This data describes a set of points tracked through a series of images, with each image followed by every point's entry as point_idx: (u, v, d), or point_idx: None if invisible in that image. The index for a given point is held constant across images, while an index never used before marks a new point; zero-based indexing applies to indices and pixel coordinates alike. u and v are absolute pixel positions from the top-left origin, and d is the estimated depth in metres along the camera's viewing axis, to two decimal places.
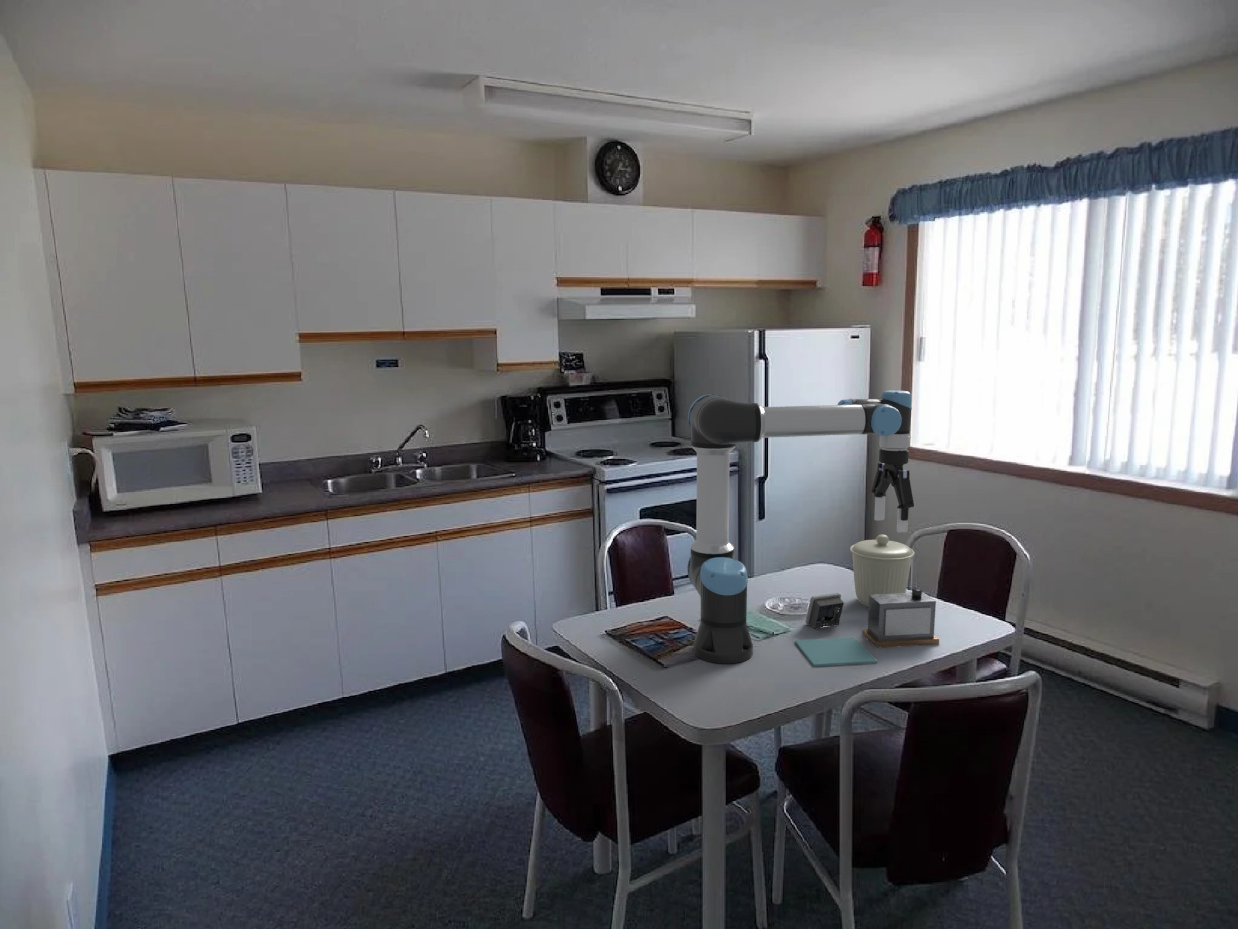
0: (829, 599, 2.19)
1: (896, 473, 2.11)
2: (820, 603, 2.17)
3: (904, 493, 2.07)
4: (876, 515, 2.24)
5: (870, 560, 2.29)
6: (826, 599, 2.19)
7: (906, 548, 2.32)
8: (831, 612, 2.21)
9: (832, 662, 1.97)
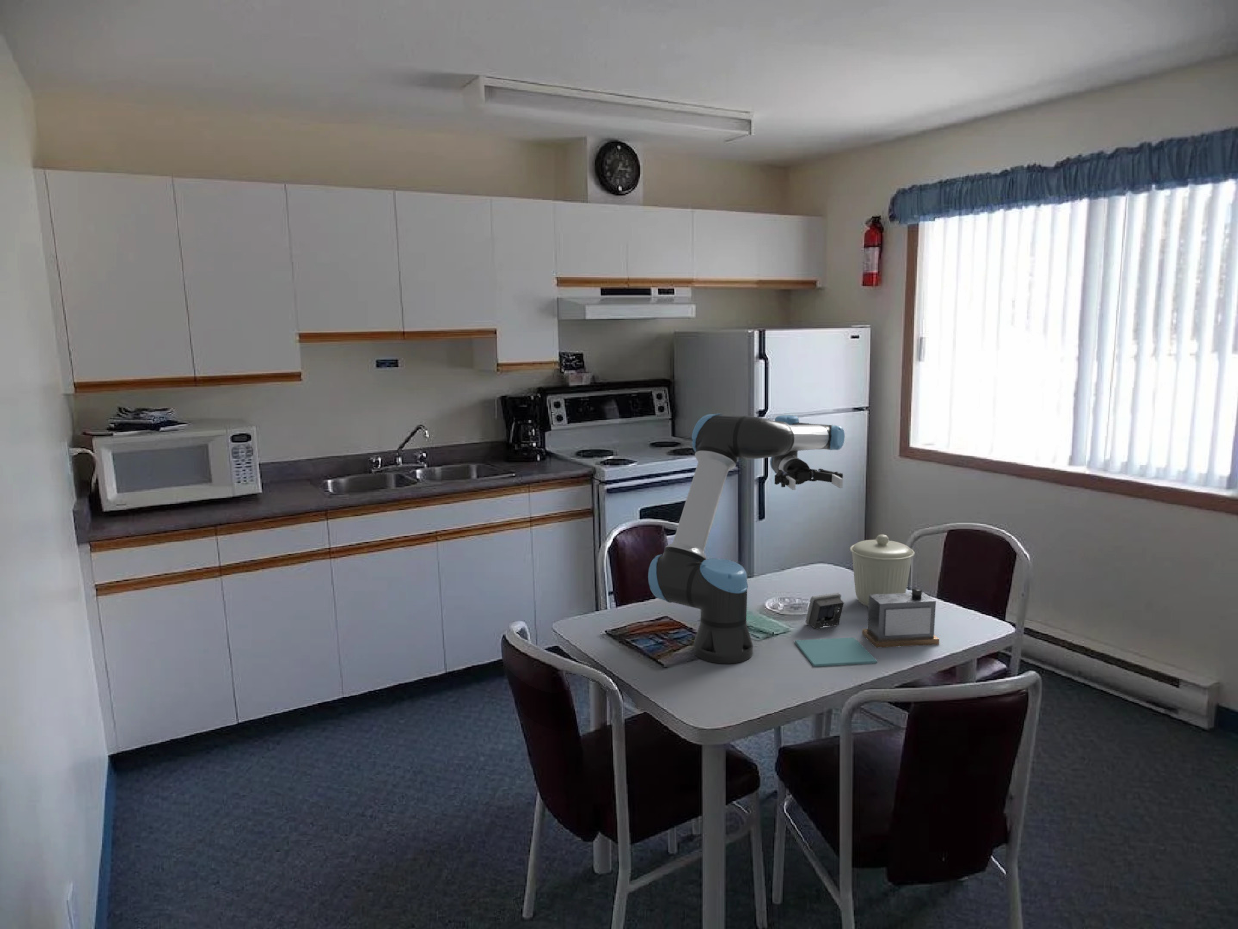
0: (829, 599, 2.19)
1: None
2: (820, 603, 2.17)
3: None
4: None
5: (870, 560, 2.29)
6: (826, 599, 2.19)
7: (906, 548, 2.32)
8: (831, 612, 2.21)
9: (832, 662, 1.97)
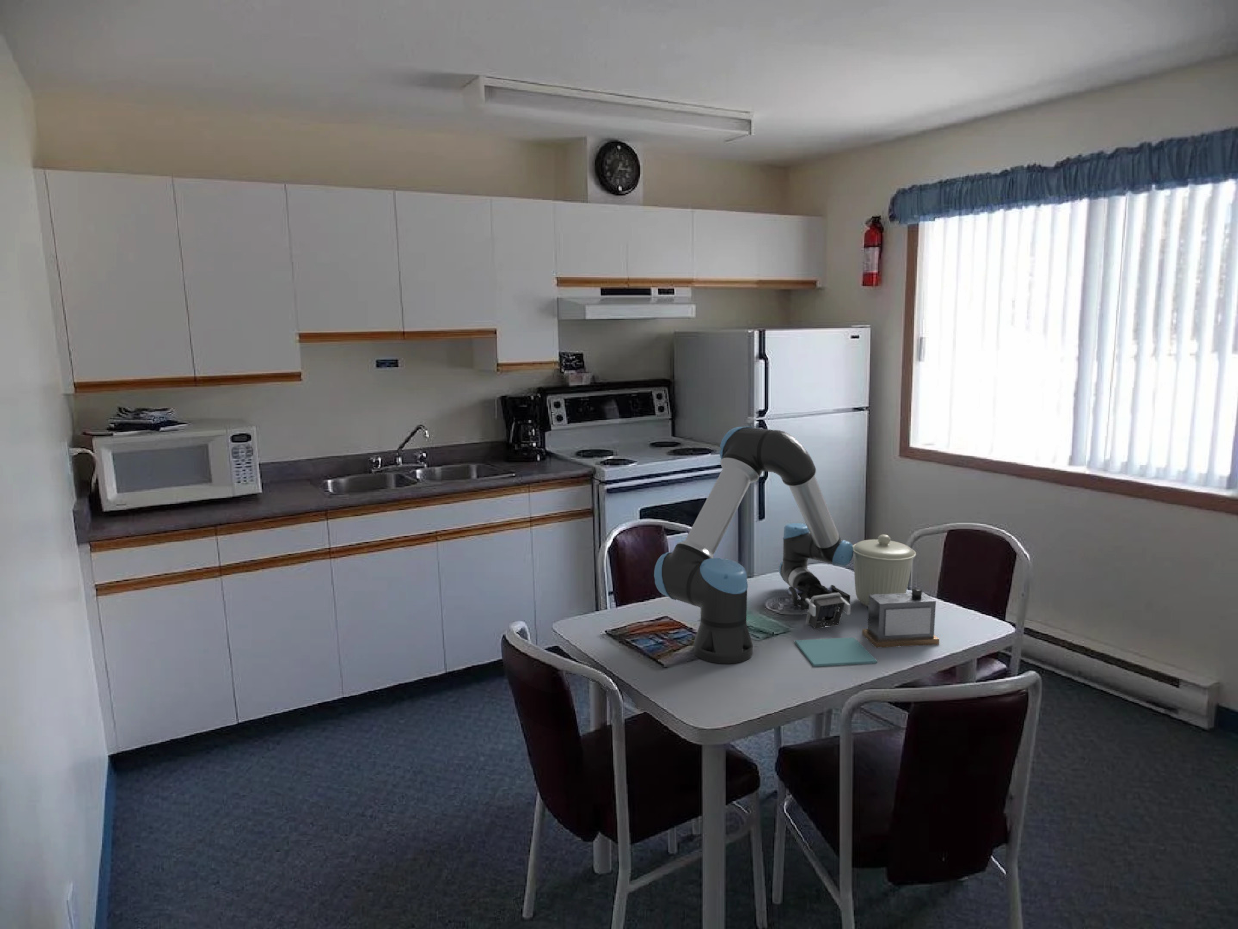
0: (829, 599, 2.19)
1: (824, 587, 2.32)
2: (820, 603, 2.17)
3: None
4: None
5: (874, 560, 2.28)
6: (826, 599, 2.19)
7: (908, 548, 2.32)
8: (831, 612, 2.21)
9: (832, 662, 1.97)
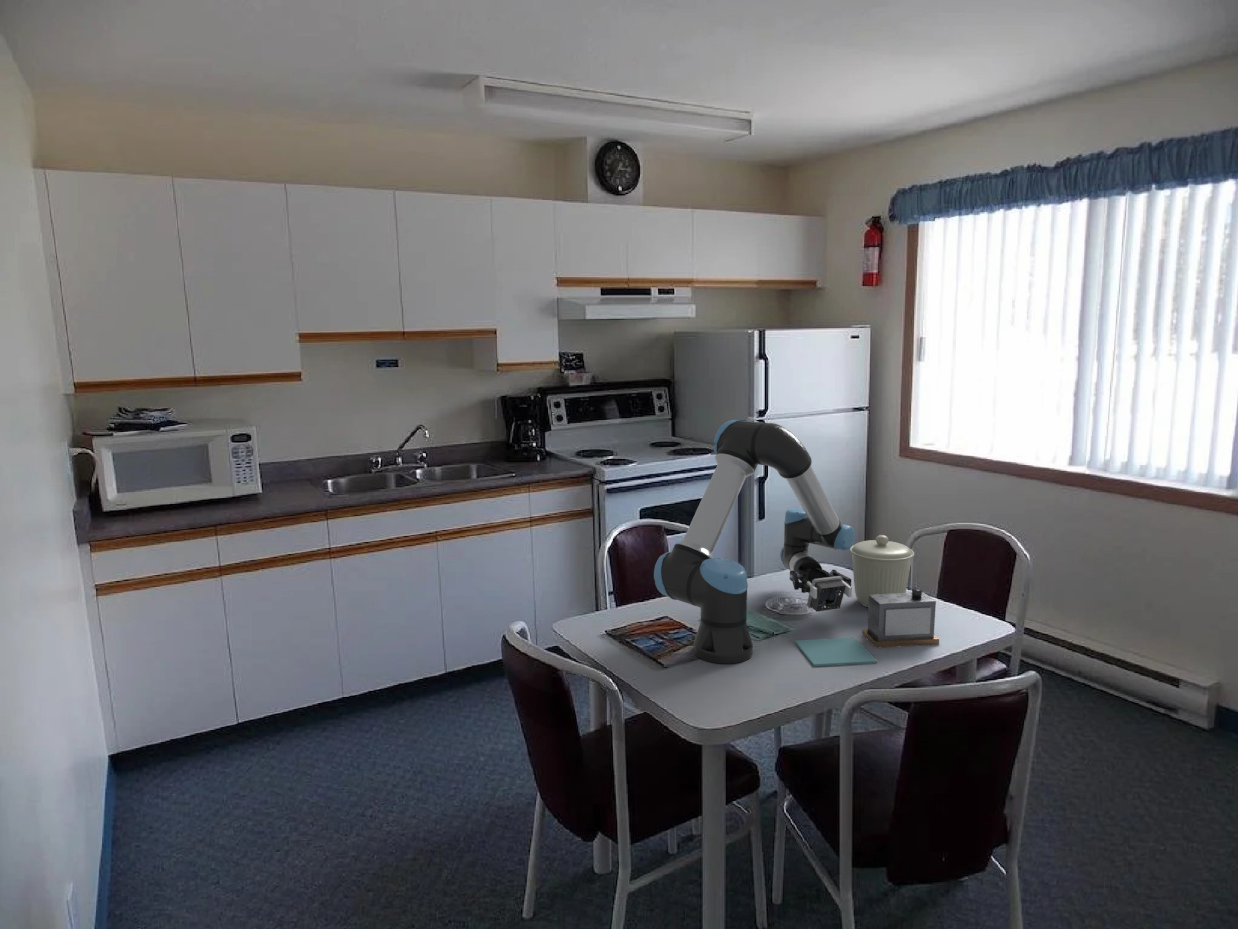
0: (831, 582, 2.19)
1: (825, 571, 2.32)
2: (822, 586, 2.17)
3: None
4: None
5: (873, 561, 2.28)
6: (828, 582, 2.19)
7: (906, 548, 2.32)
8: (832, 595, 2.20)
9: (832, 662, 1.97)
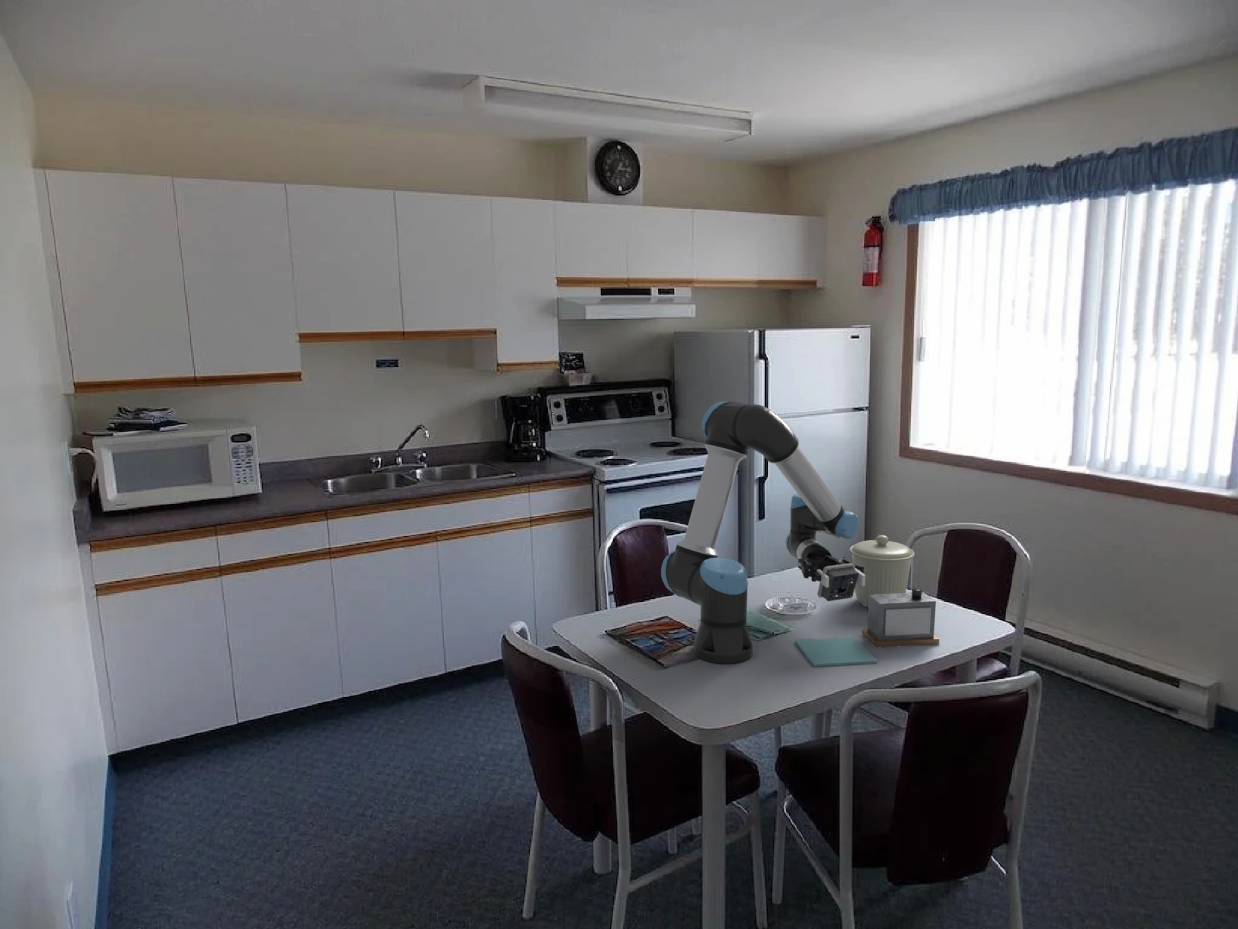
0: (843, 569, 2.06)
1: (836, 559, 2.19)
2: (834, 573, 2.04)
3: None
4: None
5: (873, 561, 2.28)
6: (840, 569, 2.06)
7: (906, 548, 2.32)
8: (845, 583, 2.08)
9: (832, 662, 1.97)
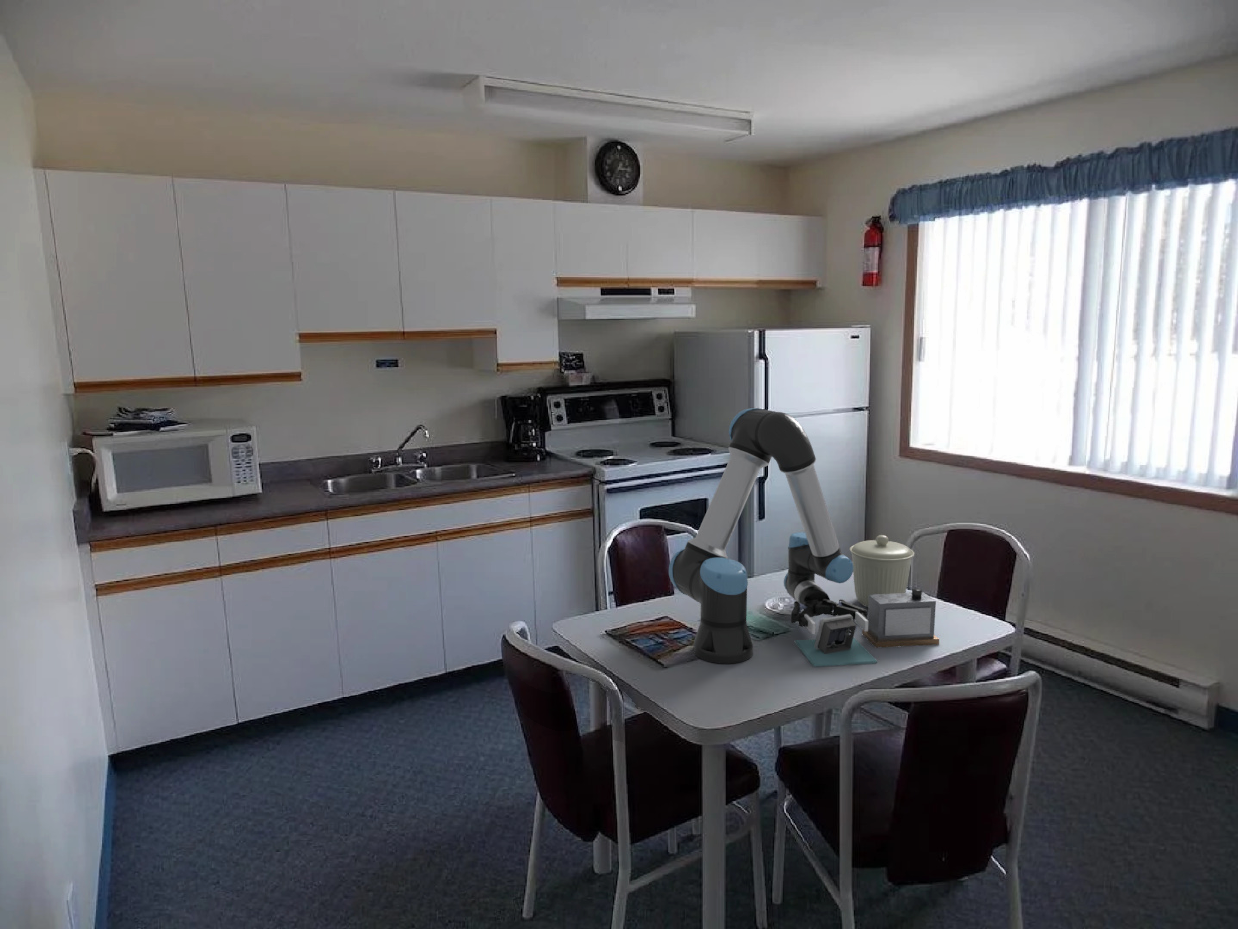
0: (840, 621, 2.01)
1: None
2: (831, 626, 1.99)
3: None
4: None
5: (873, 561, 2.28)
6: (837, 621, 2.01)
7: (906, 548, 2.32)
8: (842, 635, 2.03)
9: (832, 662, 1.97)
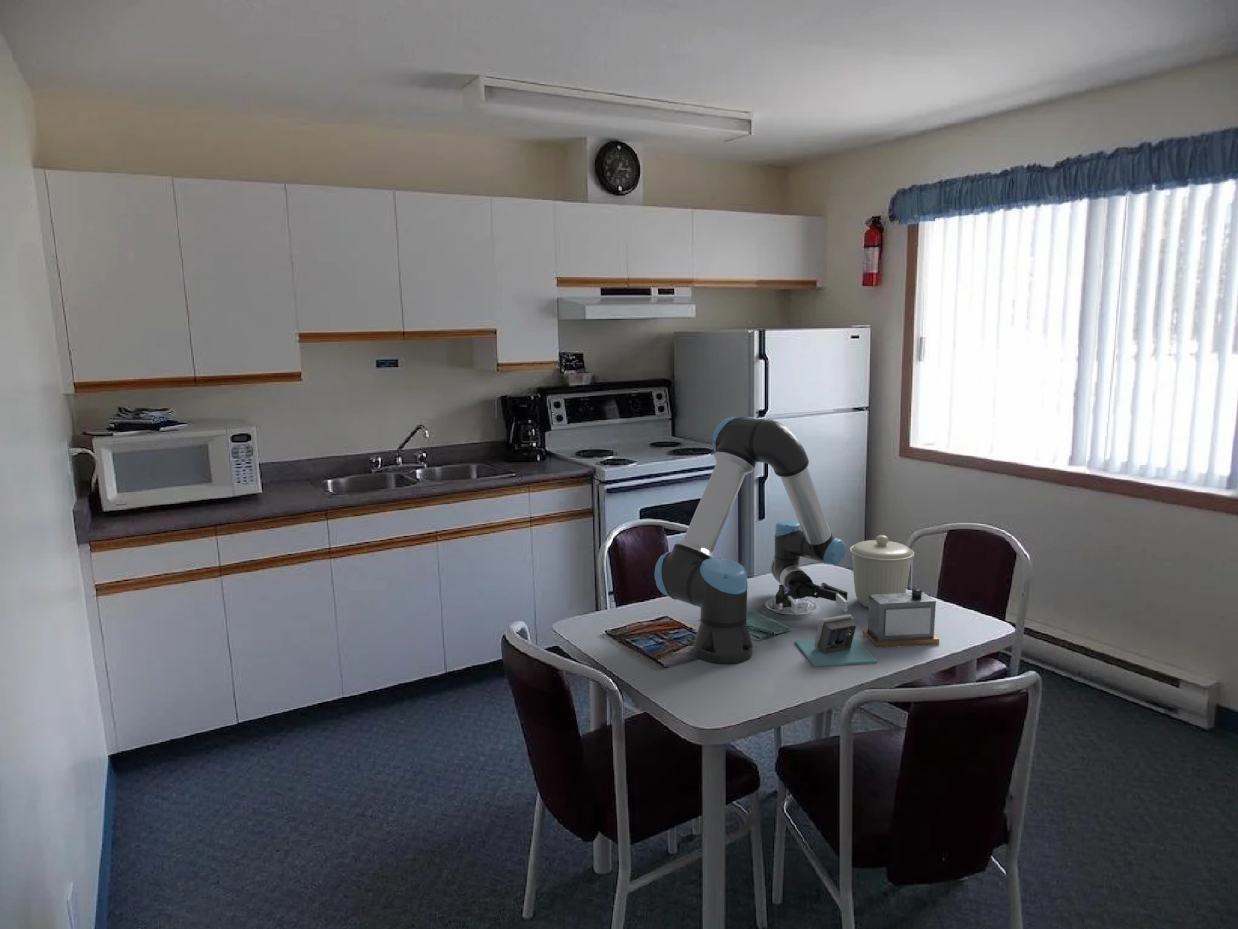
0: (840, 621, 2.01)
1: None
2: (831, 626, 1.99)
3: None
4: None
5: (873, 561, 2.28)
6: (837, 621, 2.01)
7: (906, 548, 2.32)
8: (842, 635, 2.03)
9: (832, 662, 1.97)
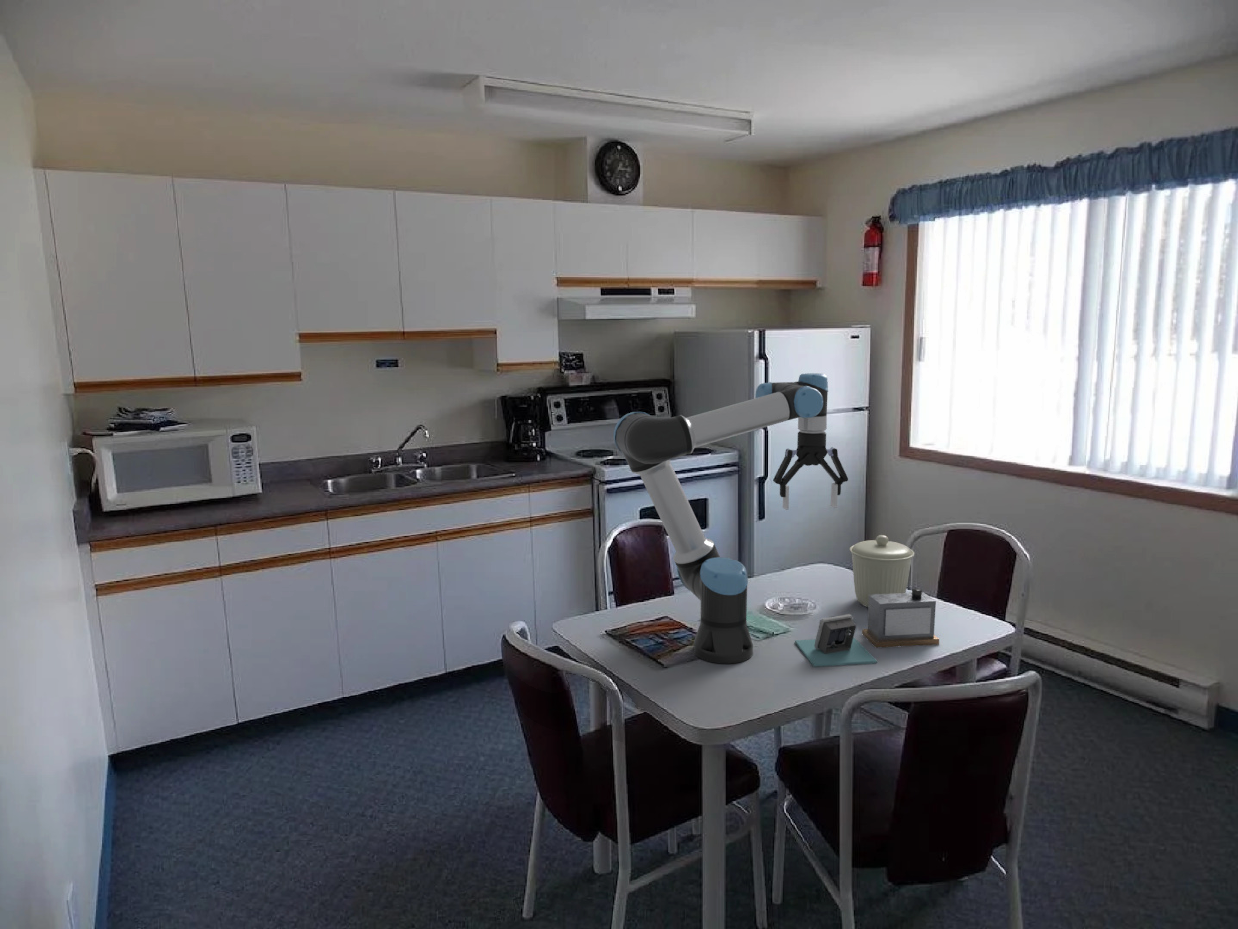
0: (840, 621, 2.01)
1: (826, 453, 2.16)
2: (831, 626, 1.99)
3: None
4: None
5: (873, 561, 2.28)
6: (837, 621, 2.01)
7: (906, 548, 2.32)
8: (842, 635, 2.03)
9: (832, 662, 1.97)
